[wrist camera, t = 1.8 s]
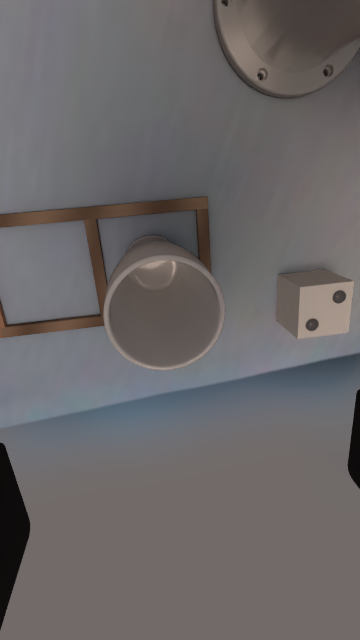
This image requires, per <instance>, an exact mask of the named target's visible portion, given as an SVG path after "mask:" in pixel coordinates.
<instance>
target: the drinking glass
mask: <svg viewBox="0 0 360 640" xmlns="http://www.w3.org/2000/svg"><path fill="white" fill-rule="evenodd" d="M103 318H104V325H105V329H106V332H107V335H108V337H109V339H110V341H111V343H112V344H113V346H114V347H115V348H116V349H117V351H118V352H119V353H120V354H121V355H123V356H124V357H125V358H126V359H128V360H129V361H131V362H133V363H135V364H137V365H139V366H142V367H145V368H149V369H154V370H171V369H177V368H181V367H184V366H187V365H189V364H191V363H193V362H195V361H196V360H198V359H200V358H201V357H202V356H204V355H205V354H206V353H207V352H208V351H209V350H210V349H211V348H212V346H213V345H214V344H215V342H216V341H217V339H218V337H219V335H220V333H221V331H222V328H223V324H224V319H225V302H224V298H223V294H222V291H221V289H220V287H219V285H218V283H217V281H216V280H215V278H214V277H213V275H212V274H211V273H210V271H209V270H208V269H207V267H206V266H205V265H204V264H203V263H202V262H201V261H200V260H199V259H198V258H197V257H196V256H195V255H193V254H192V253H191V252H189V251H188V250H186V249H184V248H182V247H180V246H178V245H176V244H173V243H171V242H170V241H169V240H167V239H165V238H163V237H160V236H156V235H149V236H144V237H141V238H139V239H137V240H136V241H134V242H133V243H132V244H131V245H130V247H129V248H128V249H127V251H126V254H125V255H124V256H123V257H122V259H121V260H120V261H119V263H118V264H117V266H116V267H115V269H114V271H113V273H112V275H111V277H110V280H109V282H108V286H107V290H106V294H105V301H104V309H103Z"/></svg>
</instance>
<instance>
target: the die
mask: <svg viewBox="0 0 360 640" xmlns="http://www.w3.org/2000/svg"><path fill="white" fill-rule="evenodd" d="M353 286H354V281H352V280H350V279H347V278H345V277H342V276H340V275H337V274H335V273H332V272H330V271H327V270H325V269H324V270H315V271H306V272H297V273H288V274H279V275H278V291H277V321H278V322H279V323H280V324H281V325H282V326H283V327H285V328H286V329H287V330H288V331H289V332H290V333H291V334H292V335H293V336H295V337H296V338H297V339H302V338H310V337H318V336H326V335H333V334H341V333H348V330H349V321H350V313H351V304H352V295H353Z"/></svg>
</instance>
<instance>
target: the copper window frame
mask: <svg viewBox="0 0 360 640" xmlns="http://www.w3.org/2000/svg"><path fill="white" fill-rule="evenodd" d="M187 210H196V219H197V236H198V252H199V260H200V261H201V262H202V263H203V264H204V265H205V266H206V267H207V269H208V270H209V271H210V273H211V262H210V241H209V219H208V198H207V197H197V198H186V199H175V200H163V201H152V202H140V203H129V204H118V205H106V206H95V207H84V208H72V209H61V210H49V211H38V212H27V213H15V214H4V215H0V227H11V226H22V225H33V224H44V223H55V222H66V221H77V220H84V222H85V228H86V233H87V239H88V245H89V250H90V256H91V262H92V267H93V273H94V279H95V284H96V290H97V296H98V301H99V307H100V313H101V314H99V315H90V316H81V317H73V318H64V319H56V320H47V321H38V322H30V323H21V324H13V325H7V323H6V319H5V316H4V312H3V309H2V305H1V302H0V338H4V337H13V336H21V335H29V334H38V333H46V332H55V331H63V330H71V329H80V328H88V327H96V326H105V325H104V318H103V309H104V301H105V294H106V290H107V280H106V274H105V268H104V262H103V255H102V249H101V243H100V237H99V231H98V225H97V219H99V218H110V217H121V216H132V215H143V214H154V213H165V212H176V211H187Z"/></svg>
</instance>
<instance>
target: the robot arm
mask: <svg viewBox="0 0 360 640" xmlns="http://www.w3.org/2000/svg"><path fill="white" fill-rule="evenodd" d="M223 1H224V2H226V4H227V7H226V6H224V5H223V4H222V2H223ZM214 17H215V23H216V30H217V33H218V37H219V40H220V43H221V46H222V49H223V51H224V53H225V55H226V57H227V59H228V61H229V63H230V64H231V66H232V67H233V68H234V70H235V71H236V72H237V74H238V75H239V76H240V77H241V78H242V79H243V80H244V81H245V82H246V83H248V84H249V85H250V86H251V87H253V88H255V89H256V90H258V91H260V92H262V93H264V94H267V95H270V96H274V97H280V98H293V97H299V96H304V95H306V94H309V93H311V92H314V91H316V90H318V89H320V88H321V87H323V86H325V85H326V84H328V83H330V82H331V81H332V80H333V79H334V78H336V77H337V76H338V75H339V74H341V73H342V71H343V70H344V69H345V68H346V67H347V66H348V64H349V63H350V62H351V61H352V60H353V58H354V56H355V55H356V53H357V52H358V50H359V48H360V0H214ZM323 71H324V72H325V76H324V74H323ZM257 75H260V76H261V81H260V80H259V79H258V77H257ZM348 471H349V474H350V476H351V478H352V479H353V481H354V482H355V483H356V484H357V486H358V487H359V488H360V390H358V391H357V394H356V403H355V411H354V419H353V427H352V435H351V443H350V451H349V459H348ZM29 533H30V521H29V517H28V514H27V511H26V508H25V505H24V502H23V499H22V496H21V493H20V490H19V487H18V484H17V481H16V478H15V475H14V472H13V469H12V466H11V463H10V460H9V457H8V454H7V451H6V448H5V445H4V444H3V443H0V629H1V626H2V623H3V619H4V616H5V613H6V609H7V606H8V603H9V600H10V597H11V593H12V590H13V587H14V584H15V580H16V577H17V574H18V570H19V567H20V564H21V561H22V557H23V554H24V551H25V548H26V544H27V541H28V538H29Z"/></svg>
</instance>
